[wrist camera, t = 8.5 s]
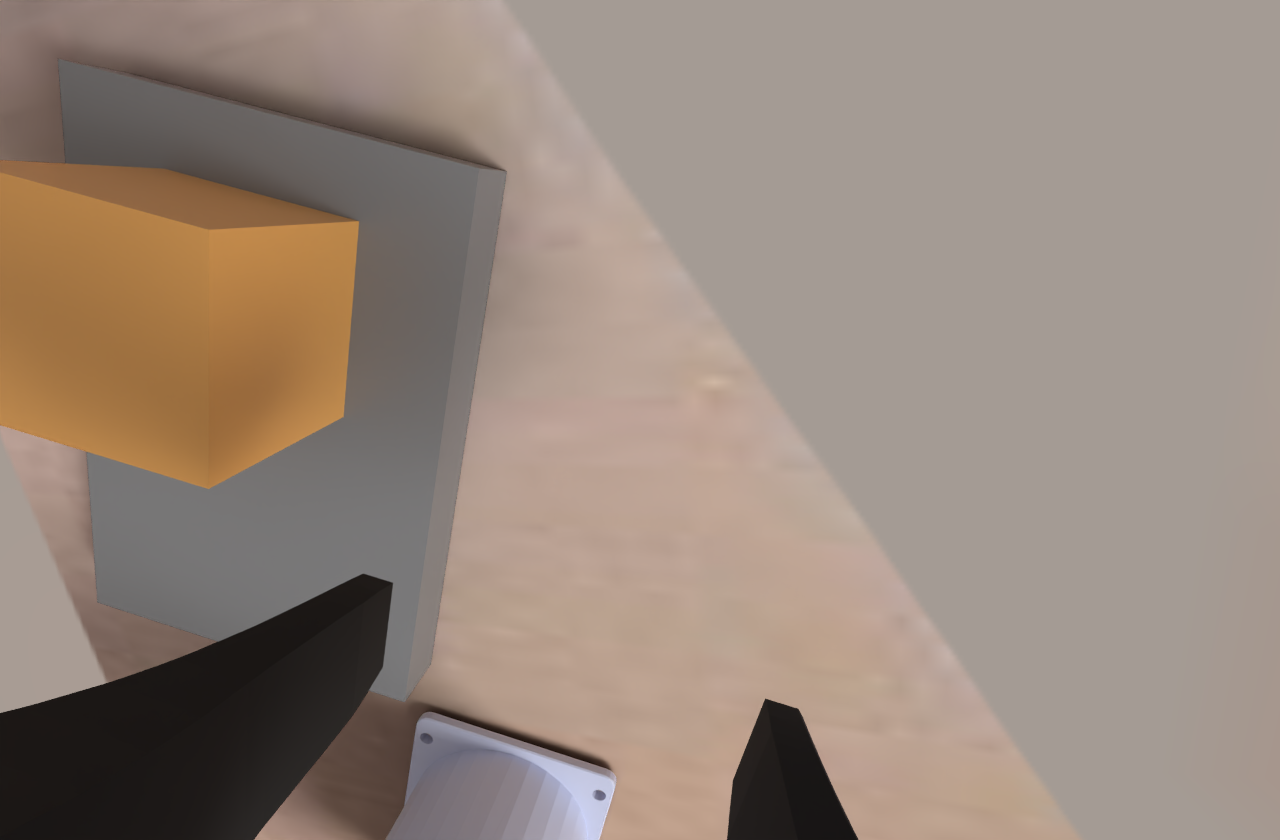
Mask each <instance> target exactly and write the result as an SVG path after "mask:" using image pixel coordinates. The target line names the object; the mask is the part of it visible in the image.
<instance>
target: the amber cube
mask: <svg viewBox="0 0 1280 840" xmlns="http://www.w3.org/2000/svg"><path fill="white" fill-rule="evenodd" d="M358 229H359V221H356V220H353V219H349V218H345V217H342V216H338V215H334V214H330V213H327V212H323V211H319V210H316V209H312V208H308V207H304V206H301V205H297V204H293V203H290V202H286V201H282V200H279V199H275V198H271V197H267V196H264V195H260V194H256V193H253V192H249V191H245V190H241V189H238V188H234V187H230V186H227V185H223V184H219V183H215V182H212V181H208V180H204V179H201V178H197V177H193V176H190V175H186V174H182V173H178V172H175V171H171V170H167V169H161V168H142V167H123V166H103V165H84V164H65V163H46V162H26V161H7V160H0V425H2V426H5V427H8V428H11V429H15V430H18V431H21V432H24V433H28V434H31V435H34V436H37V437H41V438H44V439H47V440H50V441H54V442H57V443H60V444H63V445H67V446H70V447H73V448H76V449H80V450H83V451H86V452H90V453H93V454H96V455H99V456H103V457H106V458H109V459H112V460H116V461H119V462H122V463H125V464H129V465H132V466H135V467H138V468H142V469H145V470H148V471H151V472H155V473H158V474H161V475H164V476H168V477H171V478H174V479H178V480H181V481H184V482H187V483H191V484H194V485H197V486H200V487H204V488H207V489H210V488H211V487H213V486H215V485H217V484H219V483H221V482H223V481H225V480H226V479H228V478H230V477H232V476H234V475H236V474H238V473H240V472H241V471H243V470H245V469H247V468H249V467H251V466H253V465H255V464H256V463H258V462H260V461H262V460H264V459H266V458H268V457H269V456H271V455H273V454H275V453H277V452H279V451H281V450H283V449H284V448H286V447H288V446H290V445H292V444H294V443H296V442H298V441H299V440H301V439H303V438H305V437H307V436H309V435H311V434H312V433H314V432H316V431H318V430H320V429H322V428H324V427H326V426H327V425H329V424H331V423H333V422H335V421H337V420H339V419H341V418H342V417H344V405H345V392H346V380H347V367H348V355H349V342H350V330H351V317H352V304H353V292H354V279H355V267H356V254H357V242H358Z"/></svg>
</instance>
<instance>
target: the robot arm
mask: <svg viewBox="0 0 1280 840" xmlns="http://www.w3.org/2000/svg"><path fill="white" fill-rule="evenodd" d="M392 589H393V582H389V581H386V580H383V579H380V578H377V577H373V576H370V575H367V574H364V573H363V574H361V575H359V576H357V577H354V578H352V579H350V580H348V581H346V582H344V583H342V584H340V585H338V586H336V587H334V588H332V589H330V590H328V591H326V592H324V593H322V594H320V595H318V596H316V597H314V598H312V599H310V600H308V601H306V602H304V603H302V604H300V605H298V606H296V607H293V608H291V609H289V610H287V611H285V612H283V613H281V614H279V615H277V616H275V617H273V618H270V619H268V620H266V621H264V622H262V623H260V624H258V625H256V626H253V627H251V628H249V629H246V630H244V631H242V632H239V633H237V634H235V635H232V636H230V637H228V638H226V639H223V640H221V641H219V642H216V643H214V644H212V645H209V646H207V647H205V648H202V649H200V650H198V651H195V652H193V653H190V654H188V655H185V656H183V657H180V658H177V659H175V660H172V661H169V662H167V663H164V664H161V665H159V666H156V667H153V668H150V669H147V670H144V671H142V672H139V673H136V674H133V675H130V676H127V677H124V678H121V679H118V680H115V681H112V682H109V683H106V684H103V685H100V686H96V687H92V688H89V689H86V690H82V691H79V692H76V693H72V694H69V695H66V696H62V697H58V698H55V699H51V700H48V701H45V702H41V703H38V704H34V705H31V706H27V707H23V708H19V709H15V710H11V711H7V712H3V713H0V840H254V839H255V837H256V836H257V835H258V833H259V832H260V831H261V829H262V828H263V827H264V825H265V824H266V823H267V822H268V821H269V819H270V818H271V817H272V816H273V814H274V813H275V812H276V811H277V809H278V808H279V807H280V806H281V804H282V803H283V802H284V801H285V799H286V798H287V797H288V796H289V795H290V793H291V792H292V791H293V790H294V788H295V787H296V786H297V785H298V783H299V782H300V781H301V780H302V778H303V777H304V776H305V775H306V774H307V772H308V771H309V770H310V769H311V767H312V766H313V765H314V764H315V762H316V761H317V760H318V759H319V757H320V756H321V755H322V754H323V753H324V751H325V750H326V749H327V747H328V746H329V745H330V744H331V742H332V741H333V740H334V739H335V737H336V736H337V735H338V734H339V732H340V731H341V730H342V729H343V727H344V726H345V725H346V724H347V722H348V721H349V720H350V718H351V717H352V716H353V714H354V713H355V711H356V710H357V708H358V707H359V705H360V703H361V702H362V700H363V699H364V697H365V696H366V694H367V693H368V691H369V689H370V688H371V686H372V684H373V683H374V681H375V679H376V678H377V676H378V675H379V673H380V671H381V670H382V668H383V663H384V654H385V646H386V638H387V630H388V621H389V613H390V605H391V597H392ZM428 734H429V735H428ZM430 735H431V736H430ZM615 786H616V776H615V774H614V773H613V772H612V771H610V770H608V769H606V768H603V767H600V766H597V765H594V764H591V763H588V762H584V761H581V760H578V759H575V758H572V757H569V756H566V755H563V754H560V753H557V752H554V751H551V750H548V749H545V748H541V747H538V746H535V745H532V744H529V743H526V742H523V741H520V740H517V739H514V738H511V737H508V736H505V735H502V734H498V733H495V732H492V731H489V730H486V729H483V728H480V727H477V726H474V725H471V724H468V723H465V722H462V721H459V720H455V719H452V718H449V717H446V716H443V715H440V714H437V713H434V712H425V713H423V714H422V715H421V717H420V718H419V720H418V722H417V724H416V730H415V737H414V744H413V750H412V757H411V763H410V770H409V777H408V783H407V790H406V797H405V803H404V808H403V809H402V811H401V813H400V815H399V816H398V818H397V820H396V822H395V823H394V825H393V827H392V829H391V830H390V832H389V834H388V836H387V837H386V839H385V840H599V838H600V835H601V832H602V829H603V825H604V822H605V819H606V816H607V812H608V809H609V806H610V803H611V799H612V796H613V793H614V790H615ZM598 790H601V791H603V792H601V791H598ZM727 840H858V838H857V836H856V834H855V832H854V830H853V828H852V826H851V824H850V822H849V820H848V818H847V816H846V814H845V812H844V809H843V807H842V805H841V803H840V801H839V799H838V797H837V795H836V793H835V791H834V788H833V786H832V784H831V782H830V780H829V778H828V775H827V773H826V771H825V768H824V766H823V764H822V762H821V759H820V757H819V755H818V752H817V750H816V748H815V745H814V743H813V741H812V738H811V736H810V734H809V731H808V729H807V726H806V724H805V722H804V719H803V717H802V715H801V713H800V711H799V709H797V708H793V707H790V706H787V705H784V704H781V703H777V702H774V701H771V700H768V699H765V701H764V703H763V706H762V708H761V711H760V713H759V716H758V718H757V721H756V724H755V726H754V729H753V731H752V734H751V736H750V739H749V741H748V744H747V746H746V749H745V751H744V754H743V756H742V759H741V761H740V764H739V767H738V769H737V772H736V774H735V777H734V779H733V786H732V795H731V805H730V814H729V825H728V836H727Z"/></svg>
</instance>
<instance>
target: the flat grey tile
mask: <svg viewBox="0 0 1280 840" xmlns="http://www.w3.org/2000/svg"><path fill="white" fill-rule="evenodd" d="M58 68H59V81H60V95H61V109H62V123H63V136H64V150H65V164H84V165H103V166H123V167H142V168H161V169H167V170H171V171H175V172H178V173H182V174H186V175H190V176H193V177H197V178H201V179H204V180H208V181H212V182H215V183H219V184H223V185H227V186H230V187H234V188H238V189H241V190H245V191H249V192H253V193H256V194H260V195H264V196H267V197H271V198H275V199H279V200H282V201H286V202H290V203H293V204H297V205H301V206H304V207H308V208H312V209H316V210H319V211H323V212H327V213H330V214H334V215H338V216H342V217H345V218H349V219H353V220H356V221H359V229H358V242H357V254H356V267H355V279H354V292H353V304H352V317H351V330H350V342H349V355H348V367H347V380H346V392H345V405H344V417H342V418H341V419H339V420H337V421H335V422H333V423H331V424H329V425H327V426H326V427H324V428H322V429H320V430H318V431H316V432H314V433H312V434H311V435H309V436H307V437H305V438H303V439H301V440H299V441H298V442H296V443H294V444H292V445H290V446H288V447H286V448H284V449H283V450H281V451H279V452H277V453H275V454H273V455H271V456H269V457H268V458H266V459H264V460H262V461H260V462H258V463H256V464H255V465H253V466H251V467H249V468H247V469H245V470H243V471H241V472H240V473H238V474H236V475H234V476H232V477H230V478H228V479H226V480H225V481H223V482H221V483H219V484H217V485H215V486H213V487H211V488H210V489H207V488H204V487H200V486H197V485H194V484H191V483H187V482H184V481H181V480H178V479H174V478H171V477H168V476H164V475H161V474H158V473H155V472H151V471H148V470H145V469H142V468H138V467H135V466H132V465H129V464H125V463H122V462H119V461H116V460H112V459H109V458H106V457H103V456H99V455H96V454H93V453H90V452H87V465H88V479H89V493H90V506H91V520H92V534H93V548H94V561H95V575H96V589H97V602H98V603H101V604H104V605H107V606H110V607H113V608H116V609H119V610H122V611H126V612H129V613H132V614H135V615H138V616H141V617H144V618H147V619H150V620H153V621H156V622H159V623H162V624H165V625H169V626H172V627H175V628H178V629H181V630H184V631H187V632H190V633H193V634H196V635H199V636H202V637H205V638H209V639H212V640H215V641H218V642H219V641H221V640H223V639H226V638H228V637H230V636H232V635H235V634H237V633H239V632H242V631H244V630H246V629H249V628H251V627H253V626H256V625H258V624H260V623H262V622H264V621H266V620H268V619H270V618H273V617H275V616H277V615H279V614H281V613H283V612H285V611H287V610H289V609H291V608H293V607H296V606H298V605H300V604H302V603H304V602H306V601H308V600H310V599H312V598H314V597H316V596H318V595H320V594H322V593H324V592H326V591H328V590H330V589H332V588H334V587H336V586H338V585H340V584H342V583H344V582H346V581H348V580H350V579H352V578H354V577H357V576H359V575H361V574H363V573H364V574H367V575H370V576H373V577H377V578H380V579H383V580H386V581H389V582H393V589H392V597H391V605H390V613H389V621H388V630H387V638H386V646H385V654H384V663H383V668H382V670H381V671H380V673H379V675H378V676H377V678H376V679H375V681H374V683H373V684H372V686H371V688H370V689H369V691H371V692H374V693H378V694H381V695H384V696H387V697H390V698H393V699H396V700H399V701H402V702H405V701H406V699H407V698H408V697H409V695H410V694H411V692H412V691H413V689H414V688H415V686H416V685H417V683H418V682H419V681H420V679H421V678H422V676H423V675H424V673H425V672H426V670H427V669H428V668H429V666H430V665H431V660H432V653H433V647H434V640H435V634H436V627H437V621H438V614H439V608H440V601H441V595H442V588H443V582H444V575H445V569H446V562H447V556H448V549H449V543H450V536H451V530H452V523H453V517H454V510H455V504H456V498H457V491H458V485H459V478H460V472H461V465H462V459H463V452H464V446H465V439H466V433H467V426H468V420H469V413H470V407H471V400H472V394H473V387H474V381H475V374H476V368H477V361H478V355H479V349H480V342H481V336H482V329H483V323H484V316H485V310H486V303H487V297H488V290H489V284H490V277H491V271H492V264H493V258H494V251H495V245H496V238H497V232H498V225H499V219H500V212H501V206H502V199H503V193H504V187H505V180H506V174H507V171H503V170H499V169H495V168H491V167H488V166H484V165H480V164H476V163H472V162H468V161H464V160H461V159H457V158H453V157H449V156H445V155H441V154H438V153H434V152H430V151H426V150H422V149H418V148H414V147H411V146H407V145H403V144H399V143H395V142H391V141H387V140H384V139H380V138H376V137H372V136H368V135H364V134H361V133H357V132H353V131H349V130H345V129H341V128H337V127H334V126H330V125H326V124H322V123H318V122H314V121H311V120H307V119H303V118H299V117H295V116H291V115H287V114H284V113H280V112H276V111H272V110H268V109H264V108H261V107H257V106H253V105H249V104H245V103H241V102H237V101H234V100H230V99H226V98H222V97H218V96H214V95H210V94H207V93H203V92H199V91H195V90H191V89H187V88H184V87H180V86H176V85H172V84H168V83H164V82H160V81H157V80H153V79H149V78H145V77H141V76H137V75H134V74H130V73H126V72H121V71H116V70H111V69H106V68H101V67H96V66H91V65H87V64H82V63H77V62H72V61H67V60H62V59H58Z"/></svg>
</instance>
